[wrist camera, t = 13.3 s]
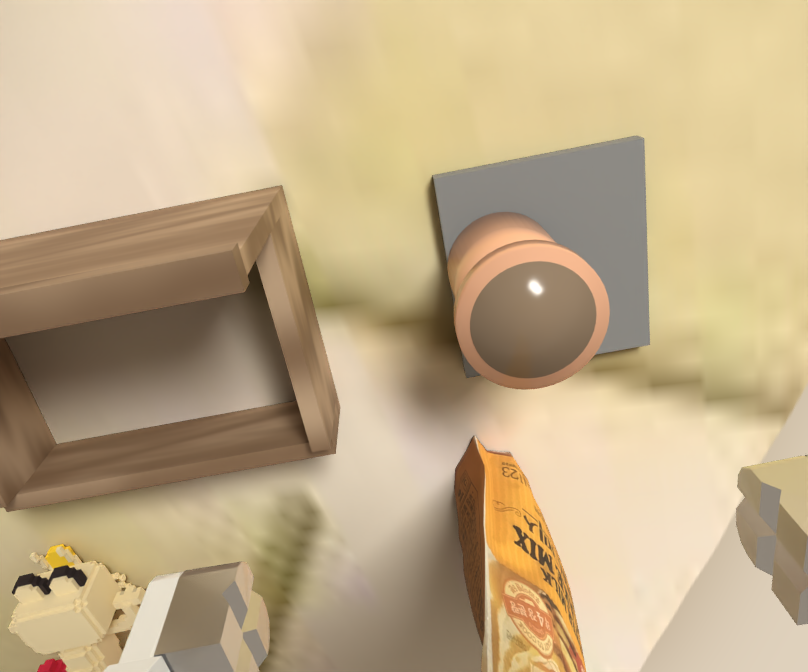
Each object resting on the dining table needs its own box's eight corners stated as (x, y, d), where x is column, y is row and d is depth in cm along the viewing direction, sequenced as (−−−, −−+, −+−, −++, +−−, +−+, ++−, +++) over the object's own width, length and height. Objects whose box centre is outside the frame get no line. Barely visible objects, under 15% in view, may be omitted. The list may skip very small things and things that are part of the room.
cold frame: (-60, 246, 35) (-275, 347, 24) (280, 179, 35) (232, 250, 23) (47, 459, 41) (-82, 624, 30) (340, 407, 40) (325, 554, 29)
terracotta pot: (428, 221, 35) (442, 268, 27) (553, 190, 34) (601, 231, 27) (453, 333, 38) (472, 403, 30) (569, 306, 37) (617, 371, 30)
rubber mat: (432, 175, 35) (433, 179, 34) (637, 135, 34) (644, 138, 33) (464, 370, 40) (466, 377, 39) (643, 337, 39) (649, 344, 38)
